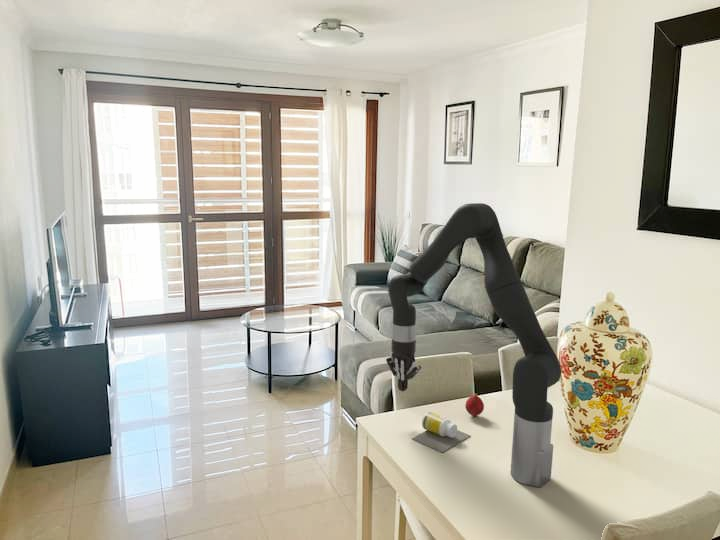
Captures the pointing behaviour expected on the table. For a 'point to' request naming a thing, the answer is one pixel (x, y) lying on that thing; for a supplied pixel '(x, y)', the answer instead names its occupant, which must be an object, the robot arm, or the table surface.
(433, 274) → the robot arm
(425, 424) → the supplement bottle
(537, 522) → the table surface
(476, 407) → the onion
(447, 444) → the mat
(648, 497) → the table surface
